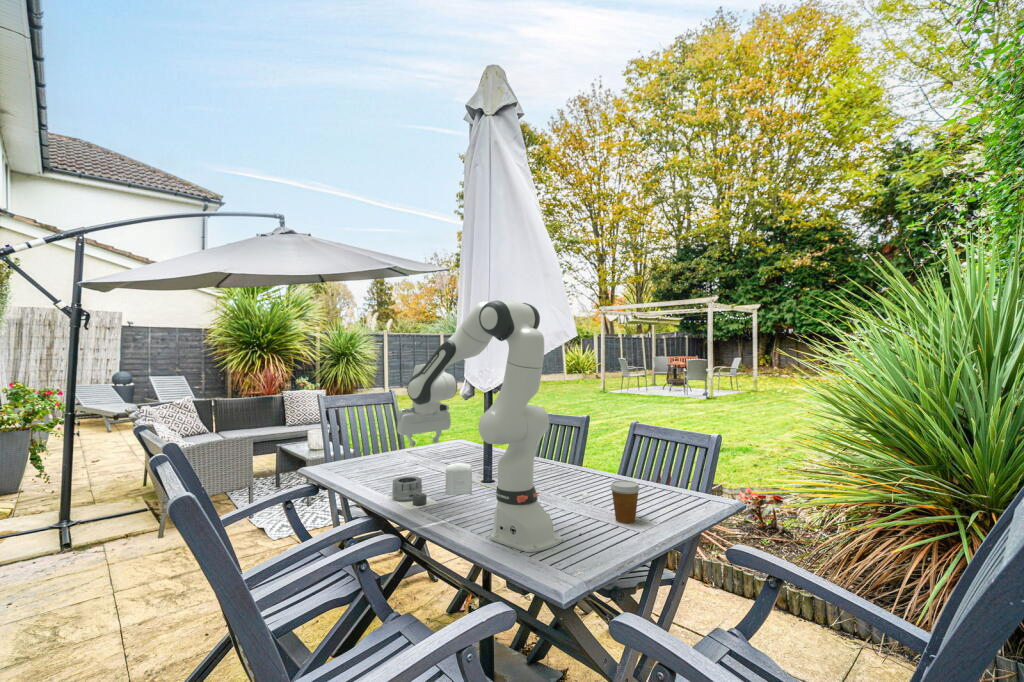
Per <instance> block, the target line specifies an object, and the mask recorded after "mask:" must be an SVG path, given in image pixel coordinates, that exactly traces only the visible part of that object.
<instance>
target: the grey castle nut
mask: <svg viewBox="0 0 1024 682" xmlns="http://www.w3.org/2000/svg"><path fill="white" fill-rule="evenodd" d="M422 479H423V478H421V477H419V476H411V475H410V476H401V477H397V478H394V479H393V480H392V495H391V496H392V499H393V500H394V501H398V502H410V501H413V495H415V494H416V493H419V494H423V483H422V481H423V480H422ZM394 501H393V502H394Z"/></svg>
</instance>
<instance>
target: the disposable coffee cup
mask: <svg viewBox="0 0 1024 682" xmlns="http://www.w3.org/2000/svg"><path fill="white" fill-rule="evenodd" d="M609 487H610V490H611V495H612V501H613V510H614V516H615V520H616V521H617V522H619V523H622V524H632V523H635V522H636V519H637V518H636V516H637V507H638V500H639V499H638V498H639V491H640V489H641V488H640V487H641V486H639V483H638V482H636V481H633V480H626V479H625V480H624V479H619V480H617V479H616V480H614V481H611V485H610V486H609Z"/></svg>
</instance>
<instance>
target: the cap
mask: <svg viewBox="0 0 1024 682" xmlns="http://www.w3.org/2000/svg"><path fill="white" fill-rule="evenodd" d="M427 497H428V496H427V494H426V493H422V494H419V493H416V494H415V495H413V505H414V506H423V505H426V504H427Z"/></svg>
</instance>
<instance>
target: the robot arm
mask: <svg viewBox="0 0 1024 682" xmlns="http://www.w3.org/2000/svg"><path fill="white" fill-rule="evenodd" d="M540 322H541V315H540V313H539V311H538V309H537V308H536V307H535V306H534V305H531V304H529V303H526V302H520V301H514V300H492V301H487V300H486V301H485V300H483V301H480V302H478V303H477V304H475V306H474V307H473V308H472V309H471V310H470V311H469V313H468V314H467V315H466V316H465V318H464V319H463V321H462V323H461V324H460V326H459V327H458V328H457V330H456V331H454V333H453V334H452V335H451V336H450V337H449V338H448V339H446V340H445V341H444V342H443V343H442V344H441V345H440V346H439V347H438V348H437V349H436V351H434V353H433V354H432V355H431V357H430V358H429V359H428V361H426V362H421V363H417V364H416V365H415V366H414V369H413V374H412V377H411V378H410V379H409V381H408V384H407V387H406V392H407V395H408V397H409V399H410V400H411V401H412V407H409V408H402V409H400V410H399V411H398V412H397V426H396V432H397V434H398V435H400V436H406V439H407V440H408V441H409V442H408V444H409V447H415V446H416V440H413V437H414V436H413V435H417V434H424V433H425V434H426V433H431V432H433V433H434V432H435V433H436V434H435V436H434V437H432V443H433V444H436V443H437V444H438V443H439V442H440V441H439V438H440V437H441V434H442V433H443V432H442V431H447V430H449V429H450V428H451V426H452V425H451V422H452V421H451V413H450V412H449V410H450V406H449V404H446V403H444V402H442V401H447V400H450V399H453V398H454V397H455V396H456V394H457V391H458V381H457V379H456V378H455V376H454V375H453V374H451V373H448V372H445V370H446V369H447V368H449V367H450V366H451V365H453V364H454V363H457V362H461V361H463V360H466V359H470V358H473V357H476V356H479V355H480V354H481V353H482V352H483V351H484V350H485V349H486V348H487V347H488V346H489V344H490V342H491V341H492V339H493V337H494V338H495V339H497V340H498V341H500V342H504V341H506V342H507V344H508V353H507V359H506V364H505V371H504V375H503V381H502V385H501V388H500V390H499V392H498V395H497V397H496V398H495V400H494V402H493V403H492V404H491V406H490V407H489V408H488V409H487V410H486V411H484V412H483V414H482V415H481V416H480V418H479V421H478V426H477V427H478V432H479V436H480V437H481V439H482V440H483V441H484V442H485V443H487V444H488V445H496V446H497V445H499V446H500V445H501V446H504V445H508V446H507V448H506V450H505V452H504V453H503V454H502V455H501V456H500V458H499V459H498V461H497V486H496V491H495V495H496V497H495V498H496V500H497V502H496V506H495V509H494V514H493V524H492V525H493V528H492V533H491V534H490V537H489V539H490V541H494V542H496V543H499V544H502V545H504V546H508V547H510V548H513V549H516V550H520V551H522V552H525V553H535V552H542V551H545V550H548V549H551V548H553V547H556V546H557V545H559V544H561V543H562V542H563V537H562V536H561V535H559V534H557V533H556V532H555V530H554V522H553V518H552V517H551V515H550V514H549V512H548V513H547V512H546V510H545V509H544V508H543V506H542V505H541V504H540V503H539V500H538V497H540V495H539V494H540V492H537V491H536V487H535V486H534V467H535V466H534V464H535V458H536V454H537V450H538V447H539V444H540V442H541V440H542V438H543V436H544V435H545V434H546V433H547V432H548V430H549V428H550V416H549V414H548V412H547V410H546V409H545V408H543V407H542V406H539V405H534V404H528V403H529V402H530V401H531V400H532V399H533V398H534V397H535V396H536V395H537V394H538V392H539V390H540V385H541V380H542V379H541V378H542V375H543V373H542V372H543V366H544V360H545V359H544V358H545V337H544V334H543V333H542V332H541V331H540V330H539V329H538V328H539V326H540Z"/></svg>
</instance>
